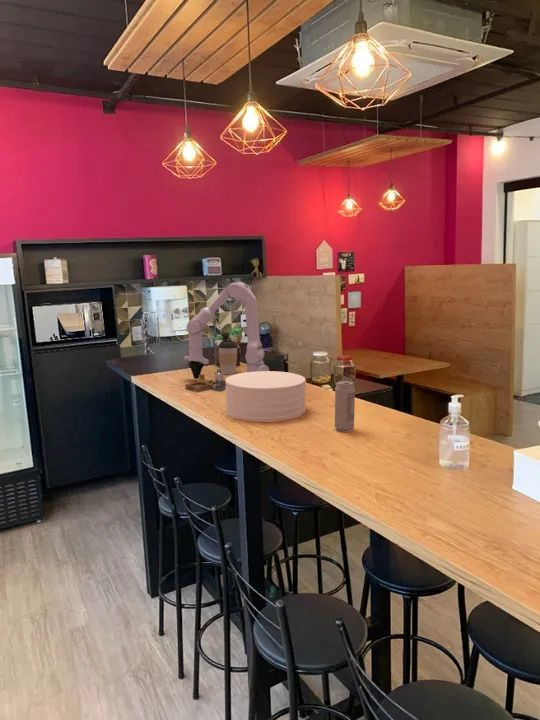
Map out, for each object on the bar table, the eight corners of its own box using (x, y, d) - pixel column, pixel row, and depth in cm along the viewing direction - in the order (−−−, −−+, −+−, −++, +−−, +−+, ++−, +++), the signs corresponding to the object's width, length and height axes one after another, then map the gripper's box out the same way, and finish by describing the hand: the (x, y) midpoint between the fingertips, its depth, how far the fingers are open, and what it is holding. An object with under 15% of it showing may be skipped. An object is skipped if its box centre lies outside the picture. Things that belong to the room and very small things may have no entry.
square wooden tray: (212, 388, 230) (212, 384, 229) (197, 392, 224) (197, 387, 224) (200, 385, 235) (200, 381, 235) (185, 389, 229) (185, 384, 229)
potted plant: (212, 364, 283) (211, 329, 280) (232, 362, 288) (232, 327, 285) (223, 369, 269) (222, 332, 266) (244, 367, 274) (244, 331, 271)
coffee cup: (237, 375, 257) (237, 343, 254) (217, 375, 256) (217, 343, 253) (237, 370, 266) (237, 339, 263) (218, 370, 265) (218, 339, 262)
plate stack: (210, 409, 199) (209, 378, 197) (270, 396, 216) (270, 368, 214) (259, 427, 178) (259, 392, 176) (321, 411, 195) (322, 379, 193)
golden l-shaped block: (212, 383, 238) (212, 375, 238) (208, 384, 237) (207, 376, 236) (203, 381, 242) (203, 373, 242) (199, 382, 241) (198, 374, 240)
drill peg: (225, 386, 234) (224, 369, 232) (219, 387, 231) (218, 370, 230) (219, 385, 236) (219, 368, 235) (213, 386, 234) (213, 369, 232)
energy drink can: (341, 425, 178) (342, 379, 175) (357, 429, 174) (358, 382, 172) (330, 430, 174) (331, 383, 171) (347, 433, 170) (348, 385, 167)
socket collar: (239, 386, 234) (239, 384, 234) (218, 391, 225) (218, 389, 225) (220, 382, 242) (220, 380, 242) (199, 386, 233) (199, 385, 233)
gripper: (213, 348, 239) (214, 379, 242) (192, 345, 249) (193, 374, 251) (201, 350, 234) (202, 381, 236) (179, 346, 244) (180, 377, 246)
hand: (196, 378), depth 243 cm, fingers closed
